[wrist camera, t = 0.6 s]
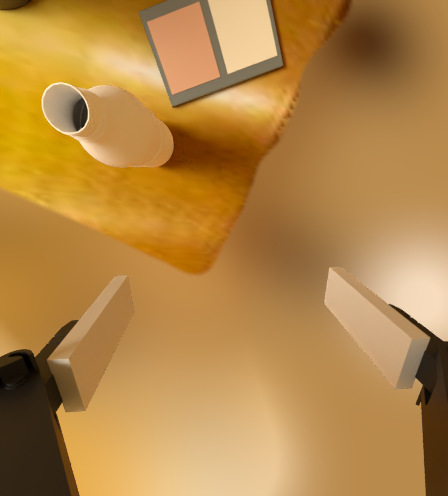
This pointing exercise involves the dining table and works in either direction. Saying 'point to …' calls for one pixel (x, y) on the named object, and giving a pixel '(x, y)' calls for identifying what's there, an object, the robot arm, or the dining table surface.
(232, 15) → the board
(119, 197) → the dining table surface
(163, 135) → the water bottle
